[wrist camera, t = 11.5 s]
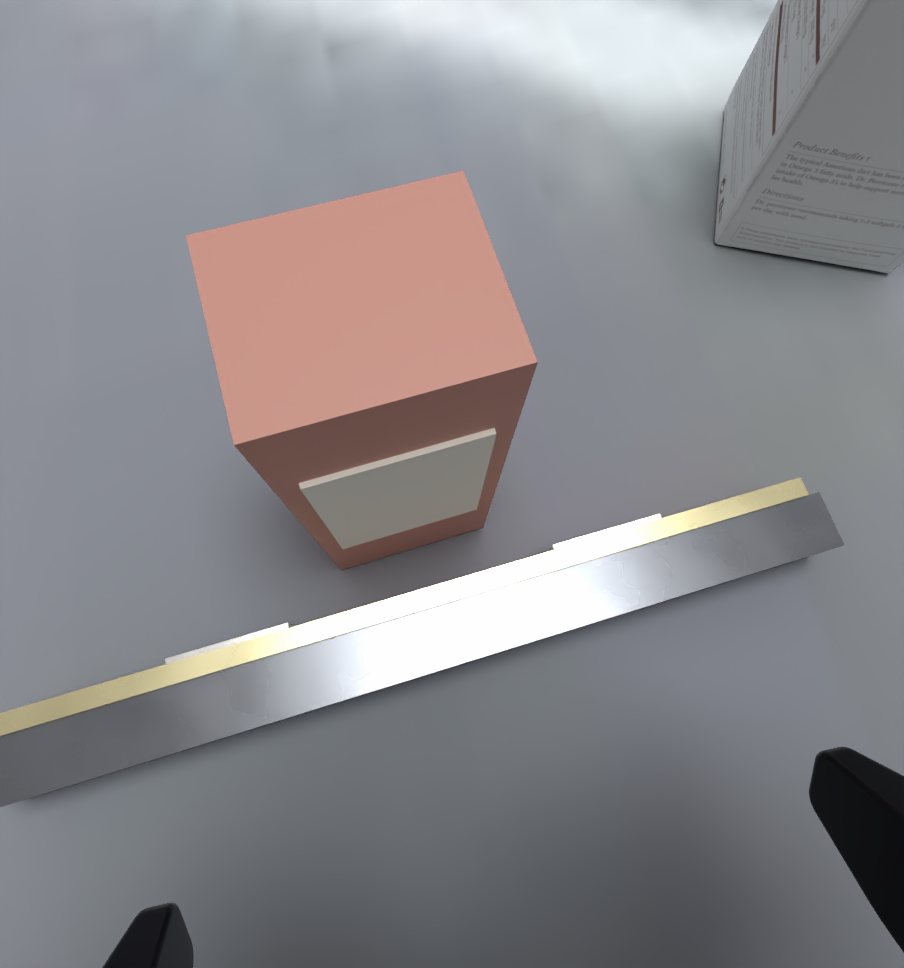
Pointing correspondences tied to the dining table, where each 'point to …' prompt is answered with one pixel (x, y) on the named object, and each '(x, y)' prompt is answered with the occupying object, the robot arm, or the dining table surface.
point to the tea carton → (369, 362)
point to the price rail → (402, 638)
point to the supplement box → (819, 137)
